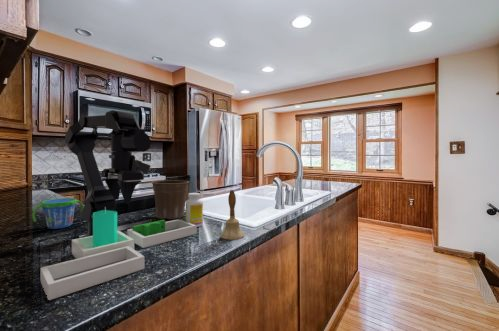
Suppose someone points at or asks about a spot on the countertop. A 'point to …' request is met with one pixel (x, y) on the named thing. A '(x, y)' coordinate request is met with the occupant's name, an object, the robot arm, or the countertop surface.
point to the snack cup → (58, 212)
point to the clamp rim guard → (164, 233)
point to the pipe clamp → (150, 228)
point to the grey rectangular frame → (91, 277)
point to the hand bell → (232, 222)
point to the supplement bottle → (194, 209)
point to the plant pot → (170, 198)
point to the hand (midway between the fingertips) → (121, 201)
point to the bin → (85, 246)
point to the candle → (104, 228)
